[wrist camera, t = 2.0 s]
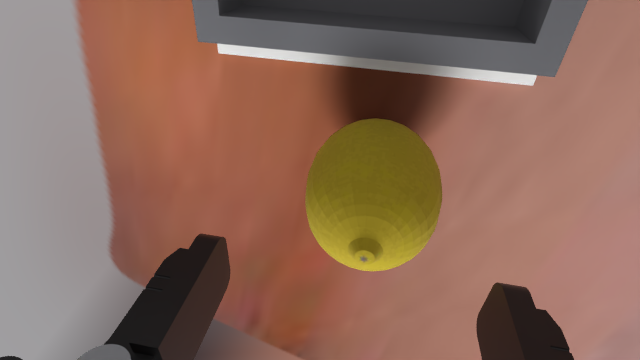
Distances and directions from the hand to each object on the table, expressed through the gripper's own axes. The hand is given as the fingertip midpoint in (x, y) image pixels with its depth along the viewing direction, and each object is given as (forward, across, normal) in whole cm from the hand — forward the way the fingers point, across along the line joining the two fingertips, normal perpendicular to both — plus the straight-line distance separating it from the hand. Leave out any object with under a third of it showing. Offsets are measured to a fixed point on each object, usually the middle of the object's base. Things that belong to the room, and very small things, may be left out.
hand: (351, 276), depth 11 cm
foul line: (+9, 0, -4) cm, 10 cm away
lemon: (+9, -1, 0) cm, 9 cm away
